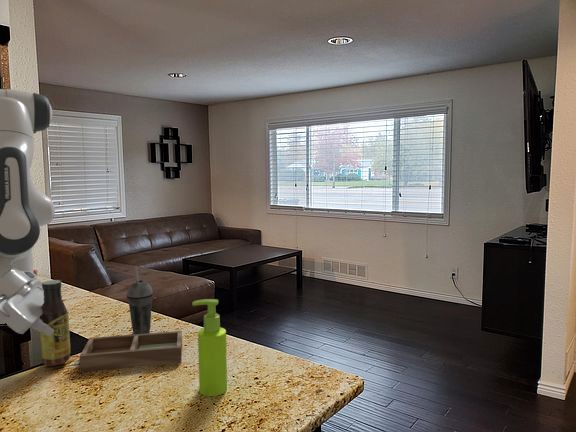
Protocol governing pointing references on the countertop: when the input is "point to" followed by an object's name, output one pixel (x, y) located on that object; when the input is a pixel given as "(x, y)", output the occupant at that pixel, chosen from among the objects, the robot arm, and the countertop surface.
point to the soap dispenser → (212, 352)
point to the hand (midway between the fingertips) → (57, 326)
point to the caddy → (131, 351)
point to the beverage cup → (140, 305)
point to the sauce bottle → (55, 325)
